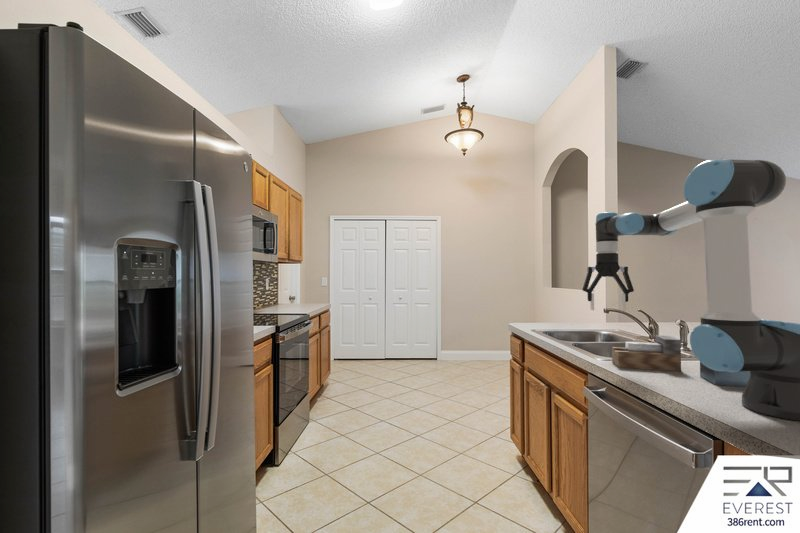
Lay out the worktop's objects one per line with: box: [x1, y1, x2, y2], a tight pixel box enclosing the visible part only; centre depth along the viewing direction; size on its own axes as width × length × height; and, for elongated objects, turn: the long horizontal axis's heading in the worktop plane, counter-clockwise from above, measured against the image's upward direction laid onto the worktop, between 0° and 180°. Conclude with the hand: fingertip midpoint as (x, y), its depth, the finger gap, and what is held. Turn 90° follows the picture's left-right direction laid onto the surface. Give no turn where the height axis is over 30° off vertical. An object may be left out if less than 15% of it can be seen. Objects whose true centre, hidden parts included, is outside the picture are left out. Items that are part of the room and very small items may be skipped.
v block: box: [699, 361, 750, 388], centre depth 122 cm, size 10×10×7 cm
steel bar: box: [624, 341, 663, 353], centre depth 142 cm, size 4×16×4 cm, turn 74°
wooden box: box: [611, 334, 682, 372], centre depth 142 cm, size 20×9×11 cm, turn 74°
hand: (607, 310), depth 146 cm, fingers open, 10 cm apart
